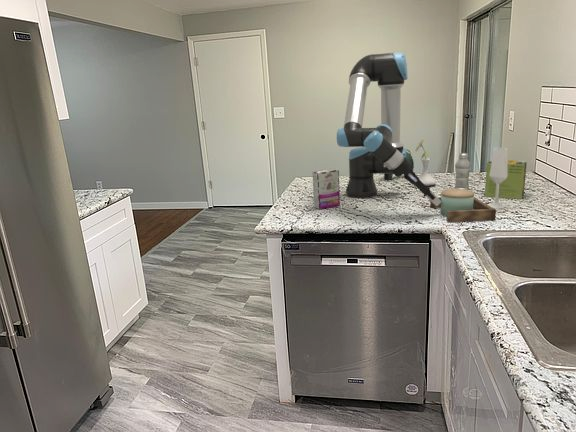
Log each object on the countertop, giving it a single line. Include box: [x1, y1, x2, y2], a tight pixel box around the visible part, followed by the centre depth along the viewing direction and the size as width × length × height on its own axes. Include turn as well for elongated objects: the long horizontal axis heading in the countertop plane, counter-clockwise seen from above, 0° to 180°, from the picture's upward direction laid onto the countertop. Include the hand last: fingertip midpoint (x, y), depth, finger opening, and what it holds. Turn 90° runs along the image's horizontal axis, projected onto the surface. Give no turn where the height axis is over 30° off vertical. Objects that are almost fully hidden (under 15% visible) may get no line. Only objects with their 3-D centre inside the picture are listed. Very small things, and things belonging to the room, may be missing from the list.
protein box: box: [484, 159, 528, 200], centre depth 198 cm, size 10×15×16 cm
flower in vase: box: [414, 137, 437, 187], centre depth 226 cm, size 13×11×25 cm
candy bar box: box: [312, 168, 341, 210], centre depth 195 cm, size 11×5×16 cm, turn 118°
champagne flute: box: [487, 147, 508, 209], centre depth 180 cm, size 7×7×24 cm
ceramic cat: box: [383, 148, 415, 182], centre depth 249 cm, size 20×6×20 cm, turn 114°
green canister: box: [440, 188, 475, 217], centre depth 174 cm, size 12×12×9 cm
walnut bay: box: [429, 197, 497, 223], centre depth 175 cm, size 18×23×4 cm
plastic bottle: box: [453, 152, 471, 190], centre depth 199 cm, size 6×7×20 cm
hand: (438, 203), depth 174 cm, fingers closed
